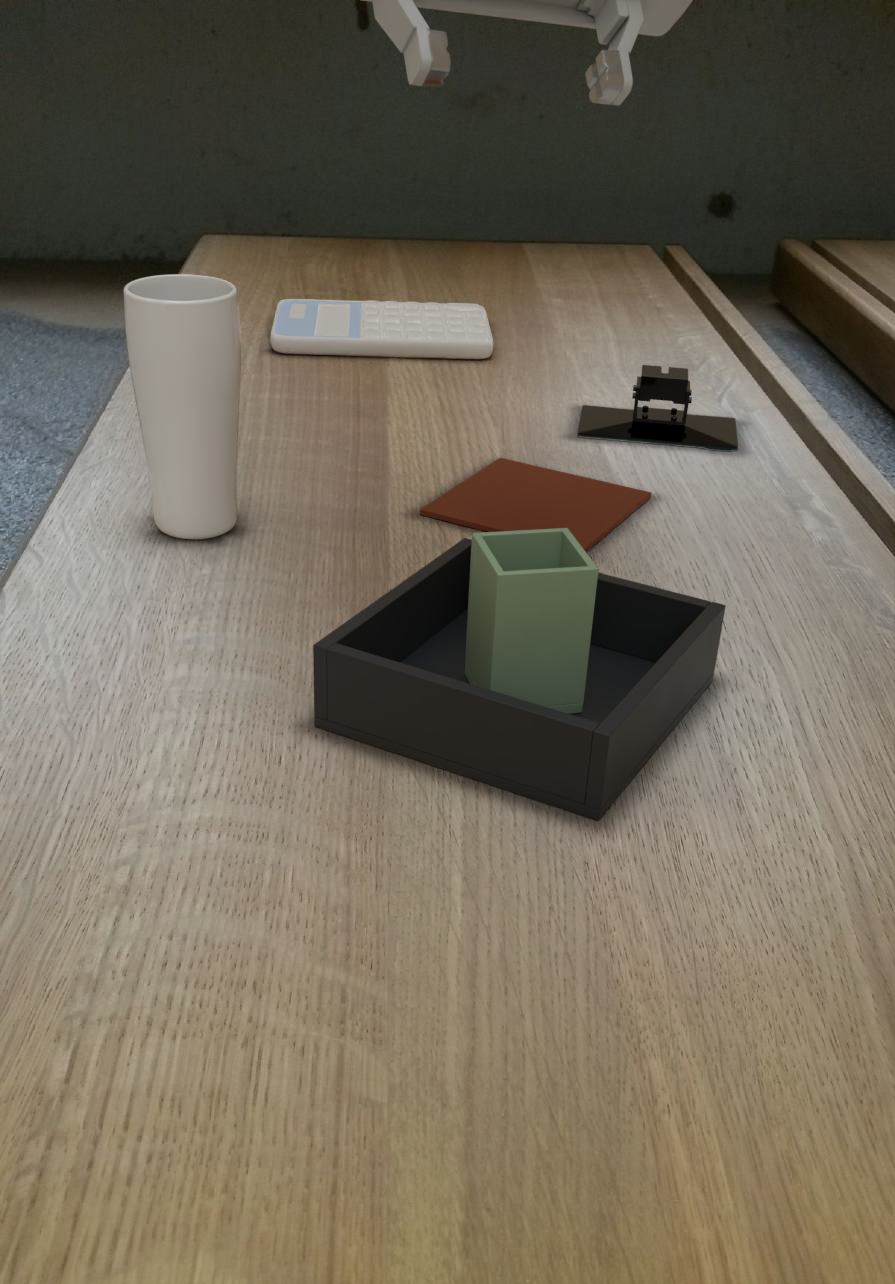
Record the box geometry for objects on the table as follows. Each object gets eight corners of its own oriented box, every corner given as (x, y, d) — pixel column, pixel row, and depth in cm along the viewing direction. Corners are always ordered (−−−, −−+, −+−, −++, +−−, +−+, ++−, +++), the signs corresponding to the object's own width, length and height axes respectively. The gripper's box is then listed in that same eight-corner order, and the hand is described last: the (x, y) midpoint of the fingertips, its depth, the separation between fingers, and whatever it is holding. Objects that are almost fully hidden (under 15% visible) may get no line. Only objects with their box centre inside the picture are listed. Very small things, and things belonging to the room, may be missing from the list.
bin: (713, 681, 74) (726, 604, 71) (598, 821, 62) (609, 735, 60) (460, 610, 80) (464, 537, 77) (314, 726, 68) (312, 644, 66)
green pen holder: (554, 666, 73) (567, 527, 69) (582, 713, 69) (599, 568, 65) (464, 673, 72) (471, 532, 68) (487, 721, 68) (497, 575, 64)
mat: (651, 497, 96) (651, 492, 95) (581, 556, 87) (582, 550, 87) (499, 462, 100) (500, 457, 100) (419, 514, 91) (419, 509, 91)
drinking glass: (177, 556, 84) (158, 308, 76) (124, 521, 88) (100, 282, 80) (269, 532, 88) (260, 292, 80) (213, 499, 92) (200, 268, 84)
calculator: (494, 361, 121) (495, 339, 120) (269, 354, 120) (268, 333, 119) (484, 321, 132) (485, 301, 131) (278, 314, 131) (277, 294, 130)
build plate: (734, 423, 110) (744, 366, 108) (737, 454, 104) (748, 394, 102) (582, 408, 111) (588, 351, 109) (576, 438, 105) (583, 378, 103)
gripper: (284, -284, 58) (330, 19, 56) (694, -202, 65) (742, 66, 64) (251, -166, 64) (292, 110, 62) (630, -104, 71) (674, 144, 70)
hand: (524, 88), depth 63 cm, fingers open, 8 cm apart
